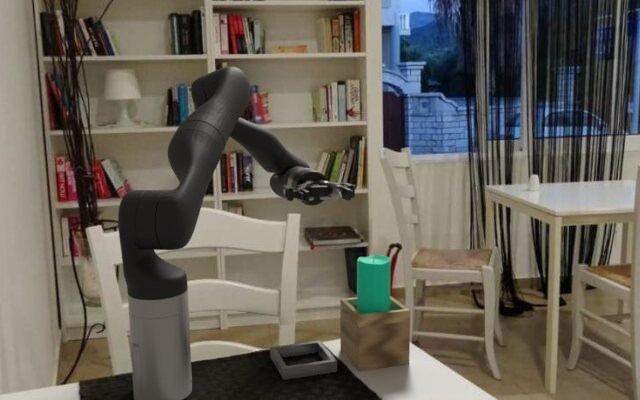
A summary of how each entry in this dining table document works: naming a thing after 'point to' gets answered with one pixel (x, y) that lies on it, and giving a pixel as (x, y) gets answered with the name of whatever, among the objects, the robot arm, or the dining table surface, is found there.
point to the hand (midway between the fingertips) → (328, 196)
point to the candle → (373, 284)
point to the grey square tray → (307, 368)
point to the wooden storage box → (375, 335)
